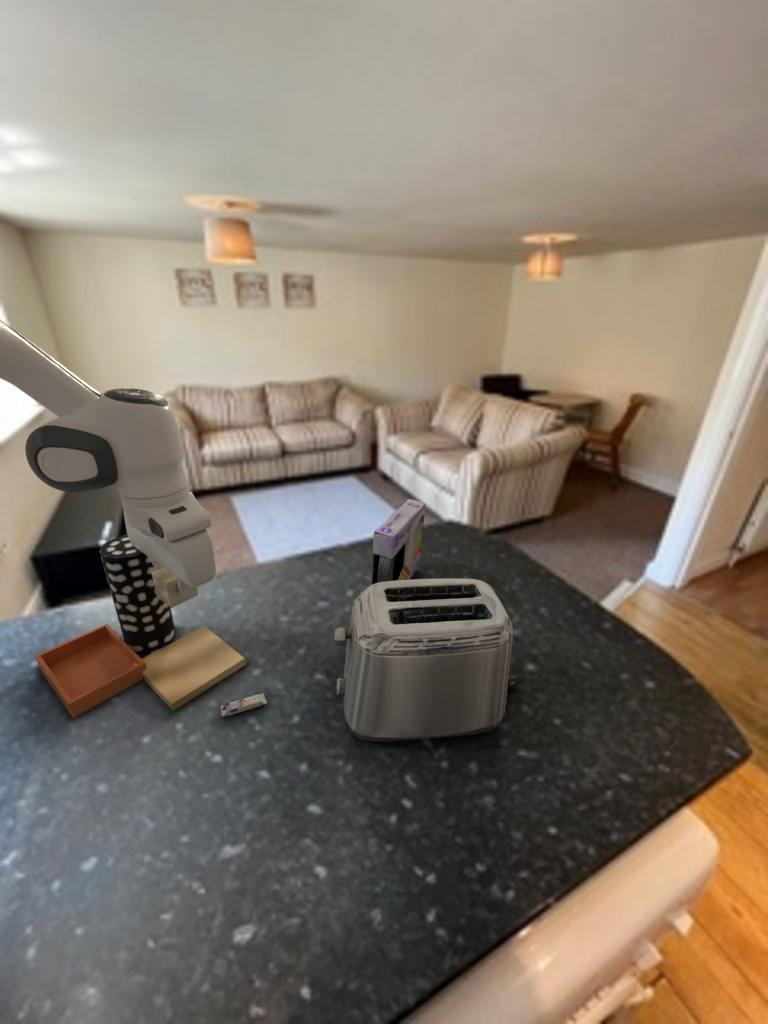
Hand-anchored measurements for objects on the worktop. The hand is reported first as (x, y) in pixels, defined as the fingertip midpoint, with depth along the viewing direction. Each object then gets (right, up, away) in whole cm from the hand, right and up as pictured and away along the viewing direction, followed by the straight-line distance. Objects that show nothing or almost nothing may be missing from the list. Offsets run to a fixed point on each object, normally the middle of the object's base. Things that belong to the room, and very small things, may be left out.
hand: (175, 586), depth 70 cm
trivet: (-1, -15, +7) cm, 17 cm away
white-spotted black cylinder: (-10, -12, +13) cm, 21 cm away
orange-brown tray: (-16, -15, +5) cm, 23 cm away
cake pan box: (+35, -5, +31) cm, 47 cm away
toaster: (+40, -19, +2) cm, 44 cm away
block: (0, -2, +1) cm, 2 cm away
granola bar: (+11, -19, 0) cm, 22 cm away
